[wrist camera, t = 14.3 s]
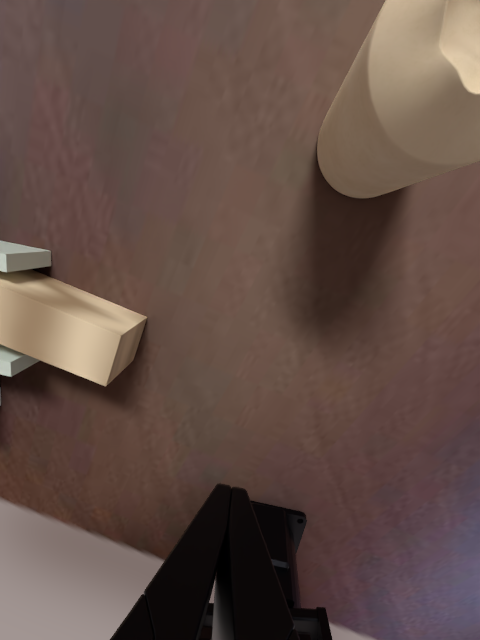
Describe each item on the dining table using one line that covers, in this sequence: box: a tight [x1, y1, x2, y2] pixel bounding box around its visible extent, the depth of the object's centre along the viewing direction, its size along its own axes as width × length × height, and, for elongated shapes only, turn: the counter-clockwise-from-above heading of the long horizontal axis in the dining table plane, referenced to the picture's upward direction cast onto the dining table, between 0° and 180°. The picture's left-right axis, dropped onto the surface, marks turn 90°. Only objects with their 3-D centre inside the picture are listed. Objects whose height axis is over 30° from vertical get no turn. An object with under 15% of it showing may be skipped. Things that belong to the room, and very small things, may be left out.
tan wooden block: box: [0, 269, 147, 387], centre depth 19 cm, size 10×4×4 cm, turn 68°
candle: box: [317, 0, 480, 198], centre depth 11 cm, size 6×6×10 cm
